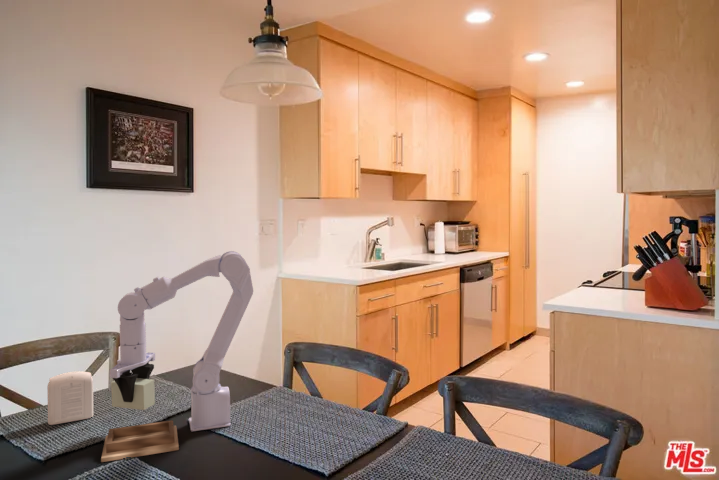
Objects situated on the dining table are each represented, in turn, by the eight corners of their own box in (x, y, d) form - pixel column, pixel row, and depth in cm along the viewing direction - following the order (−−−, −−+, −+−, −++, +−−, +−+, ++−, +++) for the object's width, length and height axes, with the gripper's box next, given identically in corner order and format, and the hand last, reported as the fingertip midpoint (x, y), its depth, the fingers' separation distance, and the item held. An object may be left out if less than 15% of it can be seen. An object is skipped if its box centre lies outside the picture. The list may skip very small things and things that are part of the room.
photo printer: (92, 412, 136) (91, 367, 135) (94, 418, 132) (93, 371, 132) (47, 421, 130) (46, 373, 129) (48, 427, 127) (46, 378, 126)
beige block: (123, 400, 127) (122, 376, 127) (154, 403, 125) (154, 379, 125) (111, 406, 123) (111, 382, 123) (144, 410, 121) (143, 385, 121)
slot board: (176, 428, 126) (176, 417, 126) (178, 449, 115) (178, 437, 115) (106, 438, 120) (105, 427, 120) (101, 462, 109) (100, 449, 109)
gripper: (137, 334, 131) (138, 386, 132) (97, 349, 117) (98, 407, 118) (162, 336, 130) (163, 388, 130) (124, 351, 115) (125, 410, 116)
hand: (134, 398), depth 124 cm, fingers closed on beige block, 4 cm apart
